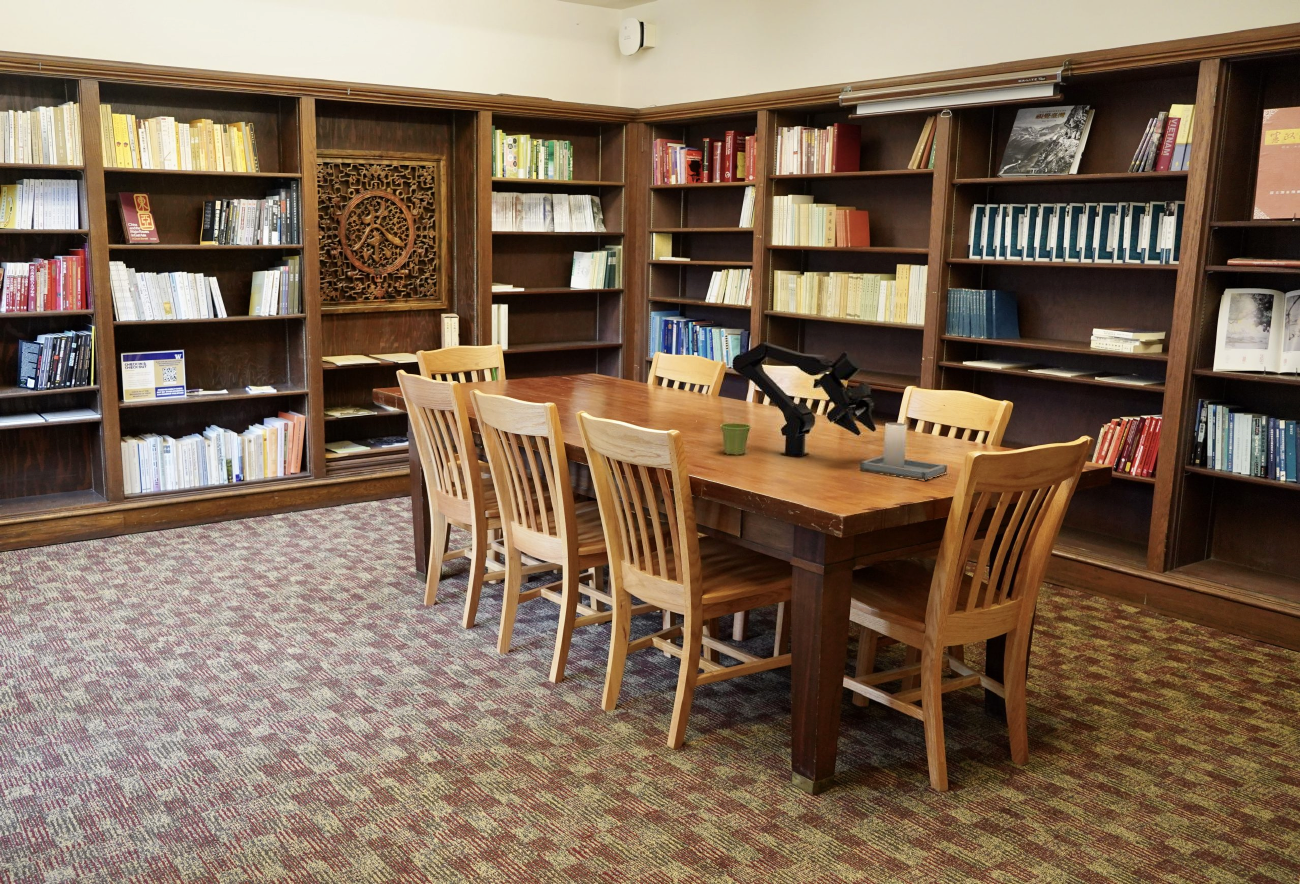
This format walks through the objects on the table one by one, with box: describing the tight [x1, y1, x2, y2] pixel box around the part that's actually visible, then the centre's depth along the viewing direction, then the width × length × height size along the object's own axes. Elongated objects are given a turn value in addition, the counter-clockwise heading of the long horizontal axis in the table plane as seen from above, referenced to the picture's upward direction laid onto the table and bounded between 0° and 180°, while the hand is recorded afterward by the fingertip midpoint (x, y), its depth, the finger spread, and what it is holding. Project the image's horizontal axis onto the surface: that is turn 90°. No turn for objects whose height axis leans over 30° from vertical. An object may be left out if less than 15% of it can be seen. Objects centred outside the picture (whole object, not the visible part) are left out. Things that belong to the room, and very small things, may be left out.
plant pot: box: [719, 422, 752, 455], centre depth 339 cm, size 9×9×9 cm
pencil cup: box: [882, 422, 908, 468], centre depth 319 cm, size 6×6×13 cm
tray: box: [859, 455, 948, 480], centre depth 318 cm, size 14×20×2 cm
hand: (867, 432), depth 324 cm, fingers open, 9 cm apart
